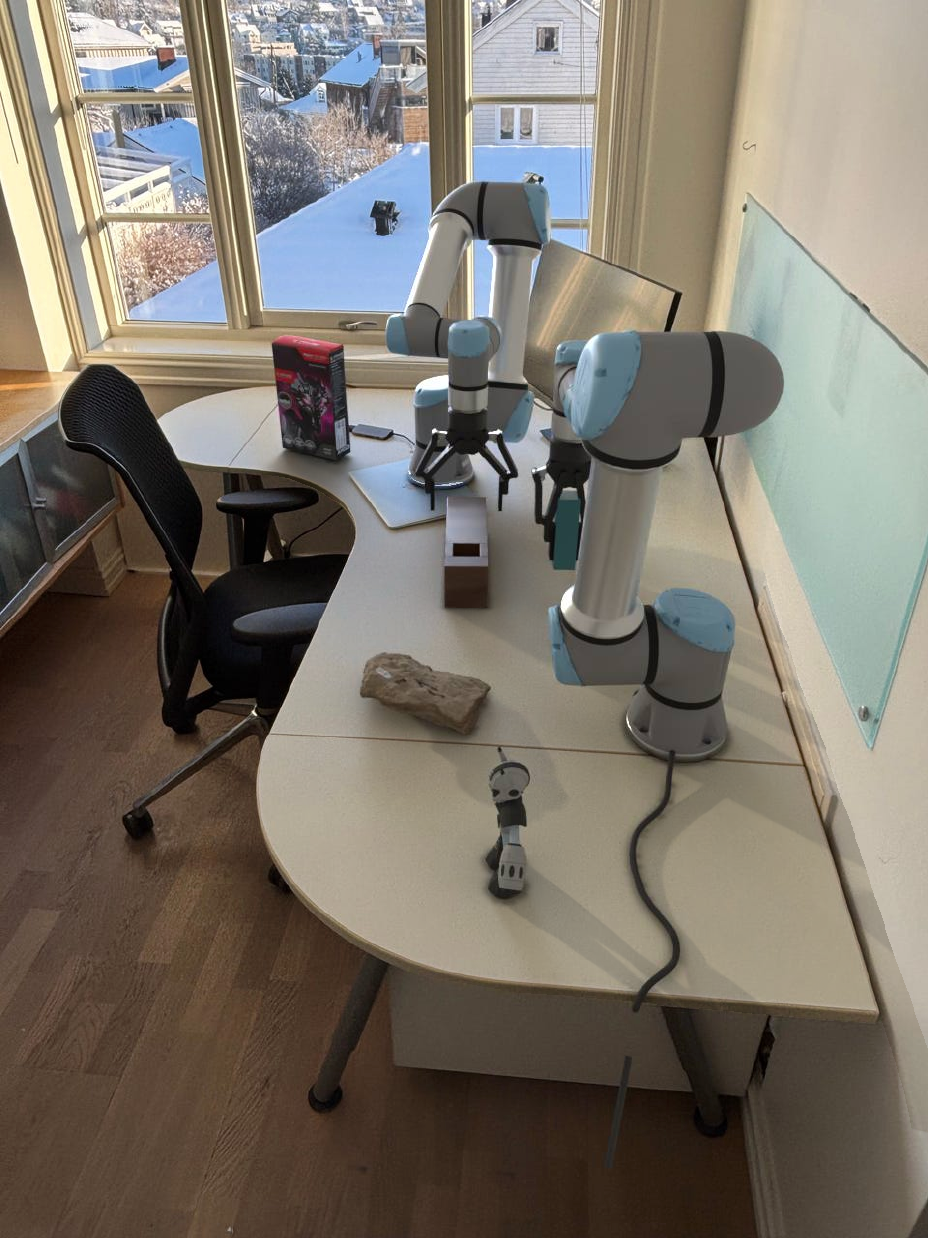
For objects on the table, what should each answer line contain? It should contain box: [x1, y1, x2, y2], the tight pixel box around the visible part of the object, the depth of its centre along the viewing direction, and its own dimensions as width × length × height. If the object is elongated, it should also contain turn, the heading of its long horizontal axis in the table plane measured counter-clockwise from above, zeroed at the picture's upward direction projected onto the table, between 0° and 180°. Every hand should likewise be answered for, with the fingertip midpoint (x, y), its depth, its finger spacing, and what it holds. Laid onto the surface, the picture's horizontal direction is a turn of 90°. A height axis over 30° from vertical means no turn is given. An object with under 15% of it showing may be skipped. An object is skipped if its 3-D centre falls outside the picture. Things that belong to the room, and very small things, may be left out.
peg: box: [551, 489, 581, 571], centre depth 165 cm, size 4×4×14 cm
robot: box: [485, 746, 531, 899], centre depth 114 cm, size 20×5×20 cm, turn 3°
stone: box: [359, 651, 492, 735], centre depth 146 cm, size 21×15×6 cm
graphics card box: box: [271, 334, 351, 461], centre depth 223 cm, size 17×7×27 cm, turn 62°
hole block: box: [443, 496, 489, 609], centre depth 181 cm, size 28×8×9 cm, turn 0°
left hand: (466, 508), depth 186 cm, fingers open, 13 cm apart
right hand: (563, 556), depth 168 cm, fingers closed on peg, 4 cm apart
